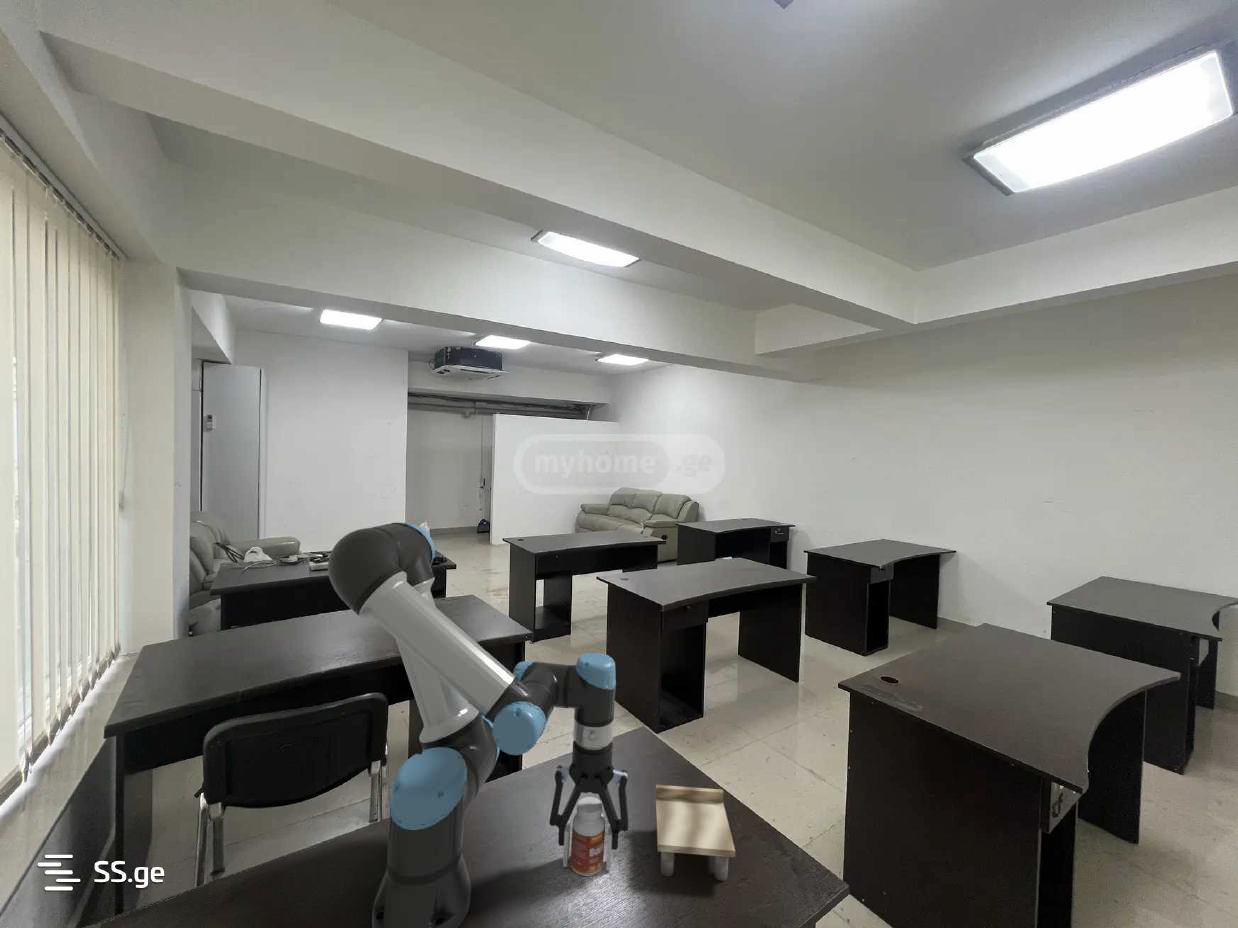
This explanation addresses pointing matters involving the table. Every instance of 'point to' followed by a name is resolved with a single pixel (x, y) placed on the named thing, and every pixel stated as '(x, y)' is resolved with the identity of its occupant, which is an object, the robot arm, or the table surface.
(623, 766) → the table surface
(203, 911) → the table surface
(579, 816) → the pill bottle
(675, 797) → the beige small table
